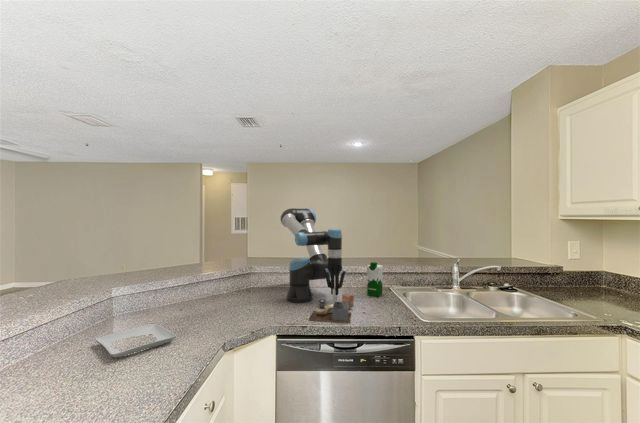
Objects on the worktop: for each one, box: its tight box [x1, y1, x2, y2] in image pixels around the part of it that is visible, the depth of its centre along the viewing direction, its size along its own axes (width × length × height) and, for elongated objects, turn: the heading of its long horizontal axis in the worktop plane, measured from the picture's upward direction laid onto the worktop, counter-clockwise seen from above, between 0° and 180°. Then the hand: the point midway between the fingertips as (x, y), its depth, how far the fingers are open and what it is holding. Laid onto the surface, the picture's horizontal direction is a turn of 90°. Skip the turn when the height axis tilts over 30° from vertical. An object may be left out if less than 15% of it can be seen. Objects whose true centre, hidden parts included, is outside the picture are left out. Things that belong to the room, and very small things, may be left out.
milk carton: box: [366, 261, 384, 298], centre depth 178 cm, size 9×9×20 cm
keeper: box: [308, 298, 352, 324], centre depth 138 cm, size 19×12×7 cm, turn 82°
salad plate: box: [95, 322, 178, 358], centre depth 109 cm, size 21×21×3 cm
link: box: [316, 293, 355, 315], centre depth 146 cm, size 22×5×6 cm, turn 127°
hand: (334, 300), depth 157 cm, fingers closed
